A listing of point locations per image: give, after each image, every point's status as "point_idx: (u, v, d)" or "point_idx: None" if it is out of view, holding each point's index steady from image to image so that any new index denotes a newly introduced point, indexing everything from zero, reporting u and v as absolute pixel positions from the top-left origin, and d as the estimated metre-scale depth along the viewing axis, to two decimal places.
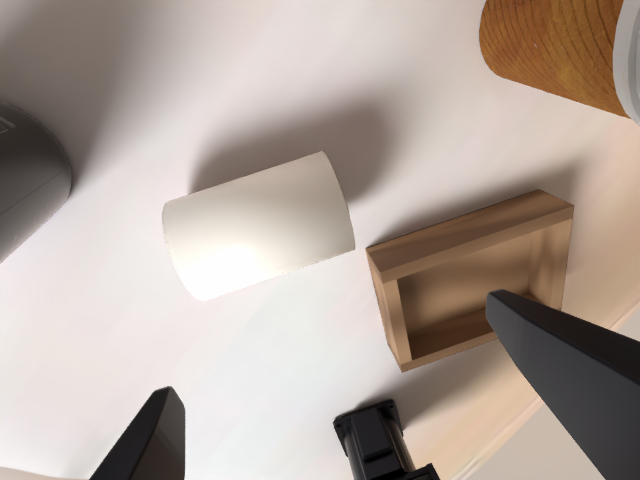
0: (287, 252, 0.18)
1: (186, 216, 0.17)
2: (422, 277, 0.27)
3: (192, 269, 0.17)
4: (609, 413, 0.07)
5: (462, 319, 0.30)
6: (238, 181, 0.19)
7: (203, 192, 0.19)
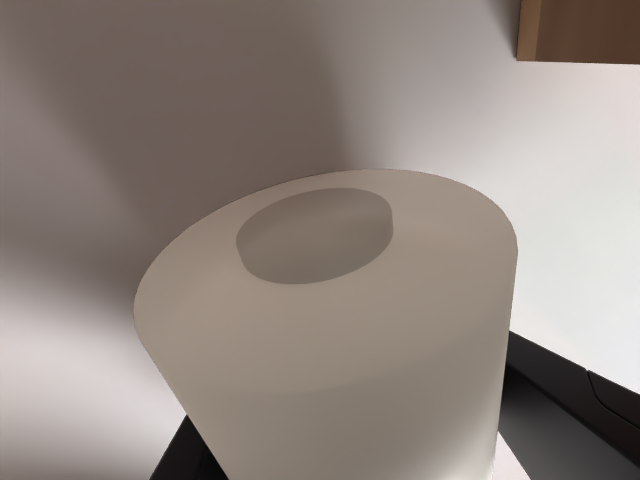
0: None
1: None
2: None
3: None
4: (542, 435, 0.07)
5: None
6: None
7: None
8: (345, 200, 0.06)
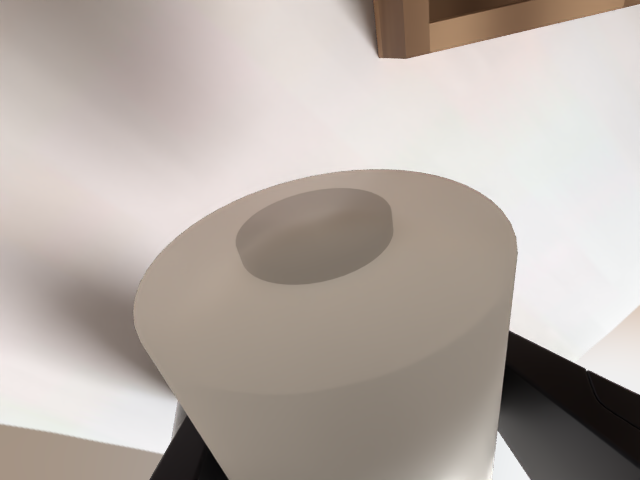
0: None
1: None
2: None
3: None
4: (542, 435, 0.07)
5: None
6: None
7: None
8: (345, 201, 0.06)
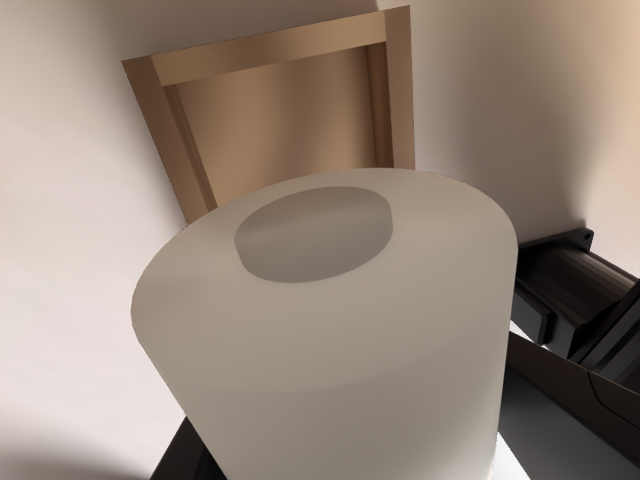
0: None
1: None
2: None
3: None
4: (542, 435, 0.07)
5: None
6: None
7: None
8: (344, 199, 0.06)
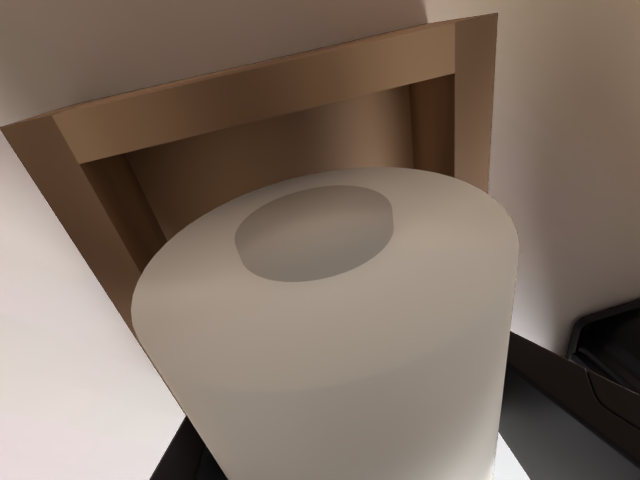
0: None
1: None
2: None
3: None
4: (542, 435, 0.07)
5: None
6: None
7: None
8: (345, 198, 0.06)
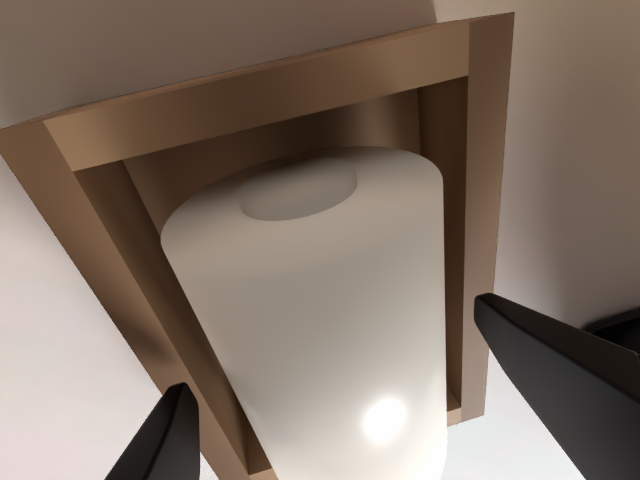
0: (380, 400, 0.07)
1: (279, 478, 0.10)
2: None
3: None
4: (592, 419, 0.07)
5: None
6: None
7: None
8: (323, 166, 0.08)
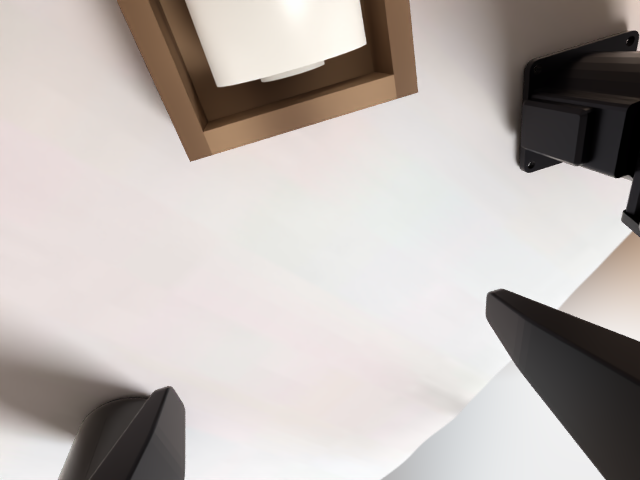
0: None
1: (211, 46, 0.12)
2: None
3: (282, 45, 0.11)
4: (609, 413, 0.07)
5: None
6: None
7: None
8: None
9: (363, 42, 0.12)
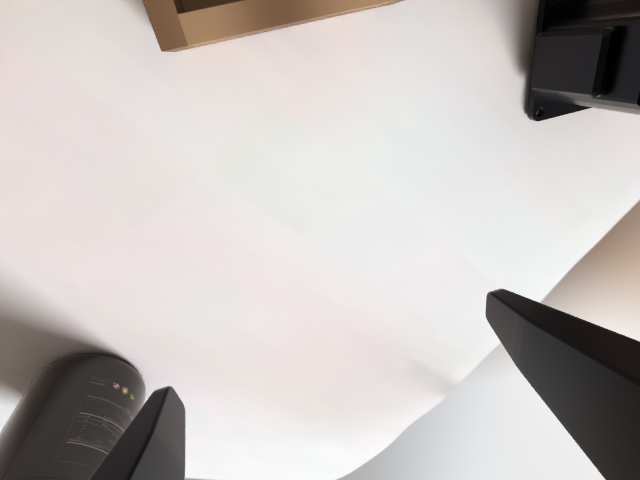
0: None
1: None
2: None
3: None
4: (609, 413, 0.07)
5: None
6: None
7: None
8: None
9: None
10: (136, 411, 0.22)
